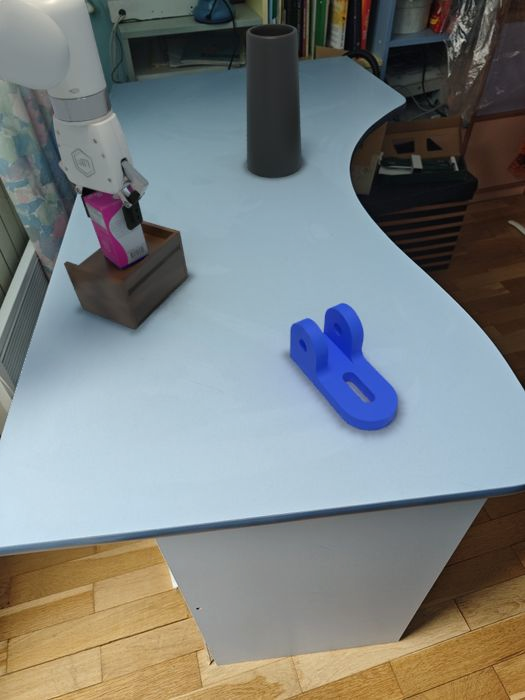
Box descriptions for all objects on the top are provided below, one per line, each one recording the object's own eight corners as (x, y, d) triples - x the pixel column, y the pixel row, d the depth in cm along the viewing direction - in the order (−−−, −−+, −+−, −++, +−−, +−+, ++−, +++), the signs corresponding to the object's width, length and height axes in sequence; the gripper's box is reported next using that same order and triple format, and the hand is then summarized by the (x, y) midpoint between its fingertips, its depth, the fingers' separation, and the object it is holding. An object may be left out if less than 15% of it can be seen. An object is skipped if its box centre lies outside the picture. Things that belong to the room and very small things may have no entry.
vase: (262, 148, 128) (258, 18, 107) (310, 158, 123) (315, 24, 102) (237, 171, 120) (226, 35, 99) (286, 182, 115) (286, 42, 94)
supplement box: (131, 242, 86) (114, 182, 78) (150, 256, 83) (134, 194, 74) (102, 256, 83) (82, 195, 75) (121, 271, 80) (101, 209, 72)
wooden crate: (82, 309, 86) (63, 263, 79) (138, 260, 96) (126, 215, 88) (135, 330, 82) (120, 283, 75) (188, 276, 92) (180, 231, 84)
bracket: (290, 356, 77) (290, 314, 70) (333, 336, 79) (337, 294, 73) (360, 439, 66) (368, 399, 59) (407, 413, 68) (420, 372, 62)
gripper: (14, 104, 66) (58, 218, 79) (113, 124, 60) (144, 245, 73) (54, 85, 70) (90, 197, 83) (150, 103, 64) (173, 220, 77)
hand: (115, 219), depth 78 cm, fingers open, 7 cm apart
